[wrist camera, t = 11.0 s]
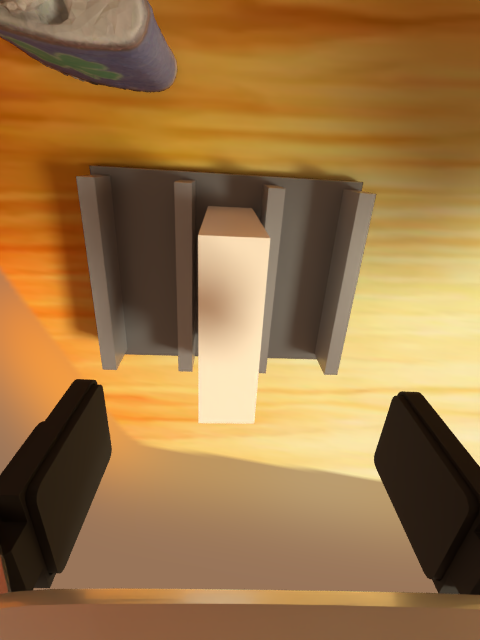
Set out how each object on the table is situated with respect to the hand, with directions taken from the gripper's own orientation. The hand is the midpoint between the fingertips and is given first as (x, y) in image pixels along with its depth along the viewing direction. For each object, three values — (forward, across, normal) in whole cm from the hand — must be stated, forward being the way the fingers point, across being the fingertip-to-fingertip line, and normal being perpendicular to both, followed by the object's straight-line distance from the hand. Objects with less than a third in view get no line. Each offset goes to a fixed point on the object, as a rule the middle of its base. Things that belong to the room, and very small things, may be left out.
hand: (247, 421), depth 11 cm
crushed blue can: (+17, +9, -13) cm, 23 cm away
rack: (+17, +1, 0) cm, 17 cm away
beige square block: (+16, +1, 0) cm, 16 cm away
